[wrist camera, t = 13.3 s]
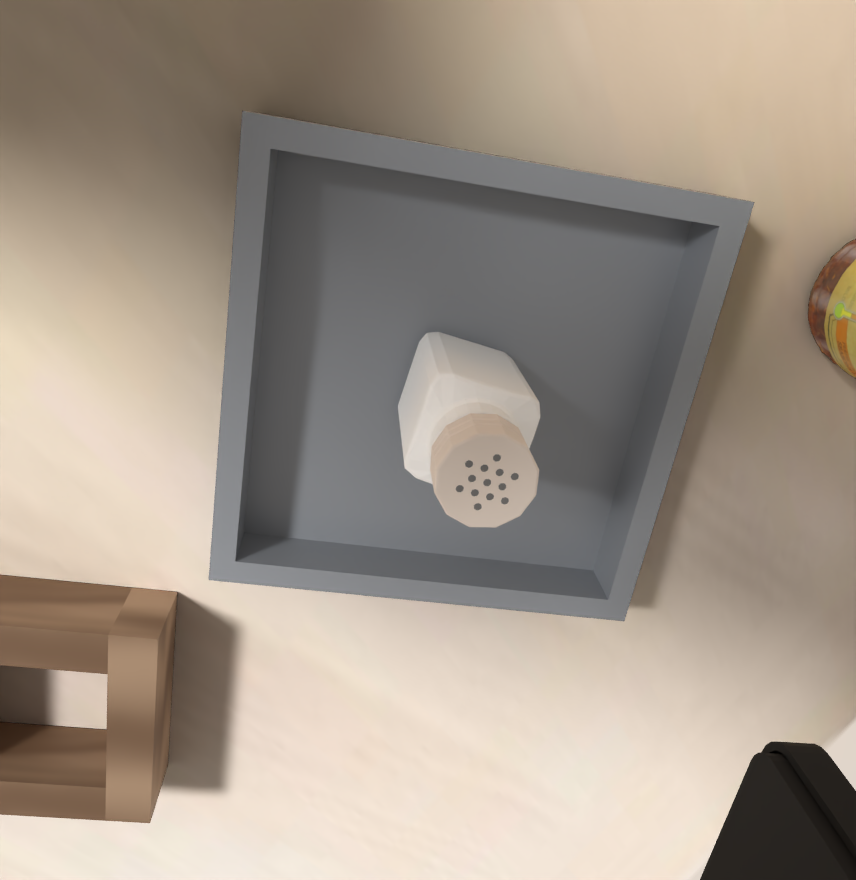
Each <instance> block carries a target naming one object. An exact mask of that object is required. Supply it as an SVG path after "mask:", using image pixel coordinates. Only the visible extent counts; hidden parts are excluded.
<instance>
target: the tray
mask: <svg viewBox="0 0 856 880" xmlns="http://www.w3.org/2000/svg"><path fill="white" fill-rule="evenodd" d="M753 205H754V202H750V201H746V200H741V199H736V198H731V197H726V196H721V195H715V194H710V193H704V192H698V191H693V190H687V189H682V188H676V187H670V186H665V185H659V184H654V183H648V182H642V181H637V180H631V179H626V178H620V177H614V176H609V175H603V174H598V173H592V172H586V171H581V170H575V169H570V168H564V167H558V166H553V165H547V164H542V163H536V162H531V161H525V160H519V159H514V158H508V157H503V156H497V155H491V154H486V153H480V152H475V151H469V150H463V149H458V148H452V147H447V146H441V145H435V144H430V143H424V142H419V141H413V140H407V139H402V138H396V137H391V136H385V135H379V134H374V133H368V132H363V131H357V130H351V129H346V128H340V127H335V126H329V125H323V124H318V123H312V122H307V121H301V120H295V119H290V118H284V117H279V116H273V115H267V114H262V113H256V112H248V111H242V123H241V137H240V151H239V165H238V179H237V193H236V207H235V220H234V234H233V248H232V262H231V276H230V290H229V304H228V318H227V332H226V346H225V360H224V374H223V388H222V402H221V416H220V430H219V444H218V458H217V472H216V486H215V500H214V514H213V528H212V542H211V556H210V570H209V580H214V581H224V582H234V583H244V584H255V585H265V586H275V587H285V588H295V589H305V590H315V591H325V592H335V593H345V594H355V595H365V596H375V597H385V598H396V599H406V600H416V601H426V602H436V603H446V604H456V605H466V606H476V607H486V608H496V609H506V610H516V611H526V612H537V613H547V614H557V615H567V616H577V617H587V618H597V619H607V620H617V621H624V620H625V617H626V614H627V610H628V607H629V604H630V601H631V598H632V594H633V591H634V588H635V585H636V581H637V578H638V575H639V572H640V569H641V565H642V562H643V559H644V556H645V552H646V549H647V546H648V543H649V540H650V536H651V533H652V530H653V527H654V524H655V520H656V517H657V514H658V511H659V507H660V504H661V501H662V498H663V495H664V491H665V488H666V485H667V482H668V478H669V475H670V472H671V469H672V466H673V462H674V459H675V456H676V453H677V450H678V446H679V443H680V440H681V437H682V433H683V430H684V427H685V424H686V421H687V417H688V414H689V411H690V408H691V404H692V401H693V398H694V395H695V392H696V388H697V385H698V382H699V379H700V376H701V372H702V369H703V366H704V363H705V359H706V356H707V353H708V350H709V347H710V343H711V340H712V337H713V334H714V330H715V327H716V324H717V321H718V318H719V314H720V311H721V308H722V305H723V301H724V298H725V295H726V292H727V289H728V285H729V282H730V279H731V276H732V273H733V269H734V266H735V263H736V260H737V256H738V253H739V250H740V247H741V244H742V240H743V237H744V234H745V231H746V227H747V224H748V221H749V218H750V215H751V211H752V208H753ZM430 332H441V333H444V334H447V335H450V336H454V337H457V338H460V339H463V340H467V341H470V342H473V343H476V344H480V345H483V346H486V347H489V348H493V349H496V350H499V351H502V352H505V353H506V354H507V355H508V356H510V357H511V358H512V359H513V360H514V362H515V364H516V365H517V367H518V369H519V370H520V372H521V373H522V375H523V377H524V378H525V380H526V381H527V383H528V385H529V386H530V388H531V389H532V391H533V393H534V394H535V396H536V397H537V399H538V401H539V404H540V420H539V423H538V426H537V429H536V432H535V435H534V438H533V440H532V443H531V446H530V448H529V450H530V452H531V454H532V456H533V458H534V460H535V462H536V464H537V466H538V468H539V477H538V485H537V493H536V496H535V497H534V499H533V500H532V501H531V503H530V504H529V505H528V506H527V508H526V509H525V510H524V512H523V513H522V514H521V516H519V517H517V518H515V519H513V520H511V521H509V522H507V523H505V524H502V525H500V526H498V527H496V528H491V527H468V526H466V525H464V524H463V523H461V522H459V521H457V520H455V519H454V518H452V517H450V516H448V515H446V513H445V511H444V509H443V507H442V506H441V504H440V502H439V500H438V499H437V497H436V495H435V493H434V489H433V484H431V483H428V482H425V481H422V480H420V479H417V478H415V477H414V476H413V475H412V474H411V473H410V472H408V471H407V470H406V469H405V467H404V458H403V449H402V440H401V431H400V422H399V413H398V404H399V401H400V398H401V394H402V391H403V388H404V386H405V383H406V380H407V377H408V374H409V371H410V368H411V365H412V362H413V359H414V356H415V353H416V350H417V347H418V344H419V341H420V340H421V339H422V338H423V337H424V335H425V334H426V333H430Z"/></svg>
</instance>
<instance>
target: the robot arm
mask: <svg viewBox="0 0 856 880" xmlns="http://www.w3.org/2000/svg"><path fill="white" fill-rule="evenodd" d="M700 880H856V791H855V789H854V788H853V787H852V785H851V784H850V783H849V781H848V780H847V779H846V777H845V776H844V775H843V774H842V772H841V771H840V769H839V768H838V767H837V765H836V764H835V763H834V761H833V760H832V759H831V757H830V756H829V755H828V753H827V752H826V751H825V750H824V749H823V748H822V747H820V746H818V745H816V744H807V743H790V742H770V743H769V744H767V745H766V746H765V747H764V749H763V751H762V752H761V753H757V754H756V755H754V757H753V758H752V760H751V762H750V764H749V767H748V769H747V771H746V774H745V776H744V778H743V781H742V783H741V785H740V788H739V790H738V792H737V795H736V797H735V799H734V802H733V804H732V806H731V809H730V811H729V813H728V816H727V818H726V820H725V823H724V825H723V827H722V830H721V832H720V834H719V837H718V839H717V841H716V844H715V846H714V848H713V851H712V853H711V855H710V858H709V860H708V862H707V865H706V867H705V869H704V872H703V874H702V877H701V879H700Z"/></svg>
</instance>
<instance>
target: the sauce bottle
mask: <svg viewBox="0 0 856 880" xmlns="http://www.w3.org/2000/svg"><path fill="white" fill-rule="evenodd" d="M808 307H809V308H808V320H809V324H810V328H811V332H812V334H813V336H814V339H815V341H816V343H817V344H818V346H819V347H820V349H821V351H822V353H824V354H826V355H827V356H828V357H829V358H830V359H831V360H832V362H833V363H835V364H837V365H838V366H840V368H842V369H843V370H844V371H845V372H847V373H848V374H850V375H851V376H853V377H855V378H856V239H855V240H852V241H850V242H849V243H847V244H846V245H845V246H844V247H843V248H842V249H841V250H840V251H838V252H837V253H836V254H835V255H833V256H832V257H831V258H830V261H829V262H828V263H827V265H826V266H825V267H824V268H823V269H822V271H821V272H820V274H819V276H818V278H817V280H816V282H815V284H814V286H813V288H812V291H811V294H810V298H809V304H808Z"/></svg>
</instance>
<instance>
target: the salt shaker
mask: <svg viewBox="0 0 856 880" xmlns="http://www.w3.org/2000/svg"><path fill="white" fill-rule="evenodd" d="M398 413H399V422H400V431H401V440H402V449H403V458H404V467H405V469H406V470H407V471H408V472H410V473H411V474H412V475H413V476H414V477H415V478H417V479H420V480H422V481H425V482H428V483H431V484H433V489H434V493H435V495H436V497H437V499H438V500H439V502H440V504H441V506H442V507H443V509H444V511H445V513H446V515H448V516H450V517H452V518H454V519H455V520H457V521H459V522H461V523H463V524H464V525H466V526H468V527H491V528H496V527H498V526H500V525H502V524H505V523H507V522H509V521H511V520H513V519H515V518H517V517H519V516H521V514H522V513H523V512H524V510H525V509H526V508H527V506H528V505H529V504H530V503H531V501H532V500H533V499H534V497H535V496H536V493H537V485H538V477H539V468H538V466H537V464H536V462H535V460H534V458H533V456H532V454H531V452H530V450H529V448H530V446H531V443H532V440H533V438H534V435H535V432H536V429H537V426H538V423H539V420H540V404H539V401H538V399H537V397H536V396H535V394H534V393H533V391H532V389H531V388H530V386H529V385H528V383H527V381H526V380H525V378H524V377H523V375H522V373H521V372H520V370H519V369H518V367H517V365H516V364H515V362H514V360H513V359H512V358H511V357H510V356H508V355H507V354H506V353H505V352H502V351H499V350H496V349H493V348H489V347H486V346H483V345H480V344H476V343H473V342H470V341H467V340H463V339H460V338H457V337H454V336H450V335H447V334H444V333H441V332H430V333H426V334H425V335H424V337H423V338H422V339H421V340H420V341H419V344H418V347H417V350H416V353H415V356H414V359H413V362H412V365H411V368H410V371H409V374H408V377H407V380H406V383H405V386H404V388H403V391H402V394H401V398H400V401H399V404H398Z"/></svg>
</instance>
